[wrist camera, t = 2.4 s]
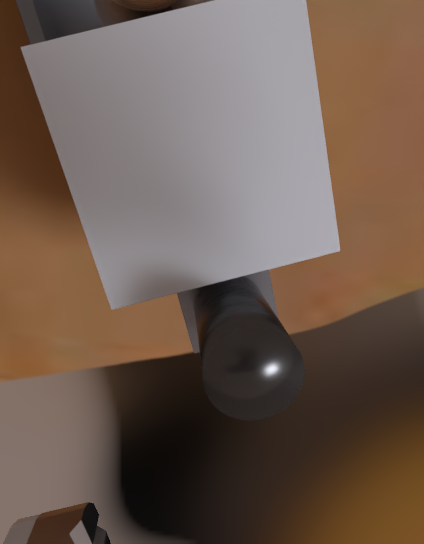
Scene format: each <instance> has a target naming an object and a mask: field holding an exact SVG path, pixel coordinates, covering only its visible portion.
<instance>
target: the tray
mask: <svg viewBox="0 0 424 544" xmlns="http://www.w3.org/2000/svg"><path fill="white" fill-rule="evenodd" d="M16 3H17V6H18V9H19V12H20V15H21V18H22V21H23V24H24V27H25V30H26V33H27V36H28V38H29V41H30V44H31V45H32V44H36V43H40V42H44V41H48V40H52V39H56V38H61V37H65V36H69V35H73V34H77V33H81V32H85V31H89V30H94V29H98V28H101V25H100V21H99V18H98V14H97V11H96V7H95V4H94V0H16Z"/></svg>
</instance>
